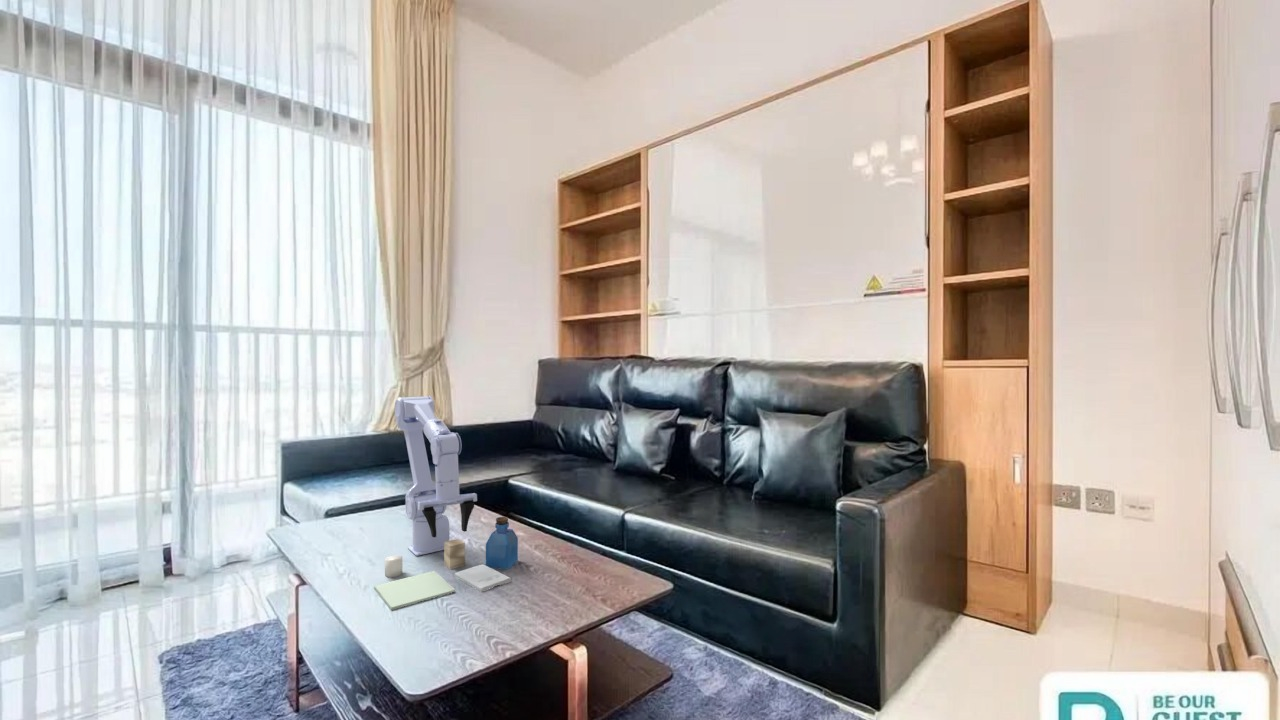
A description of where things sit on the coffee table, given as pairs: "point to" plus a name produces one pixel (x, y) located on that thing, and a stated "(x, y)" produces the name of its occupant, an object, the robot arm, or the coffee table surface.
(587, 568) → the coffee table surface
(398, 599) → the sage mat
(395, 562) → the ceramic cylinder
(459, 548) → the birch block
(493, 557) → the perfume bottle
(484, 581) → the external hard drive
